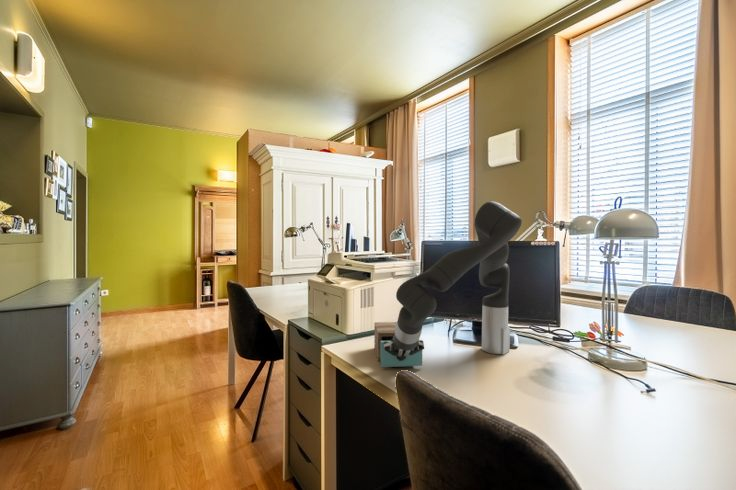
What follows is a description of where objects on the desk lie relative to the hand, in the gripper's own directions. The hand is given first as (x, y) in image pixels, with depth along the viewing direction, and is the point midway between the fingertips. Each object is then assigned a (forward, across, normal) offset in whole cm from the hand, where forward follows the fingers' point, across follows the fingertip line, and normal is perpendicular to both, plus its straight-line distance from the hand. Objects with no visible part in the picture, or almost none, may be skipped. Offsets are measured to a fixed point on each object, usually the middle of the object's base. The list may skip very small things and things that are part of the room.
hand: (400, 358), depth 116 cm
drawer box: (+14, 0, +8) cm, 16 cm away
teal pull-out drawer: (+7, 0, +3) cm, 8 cm away
